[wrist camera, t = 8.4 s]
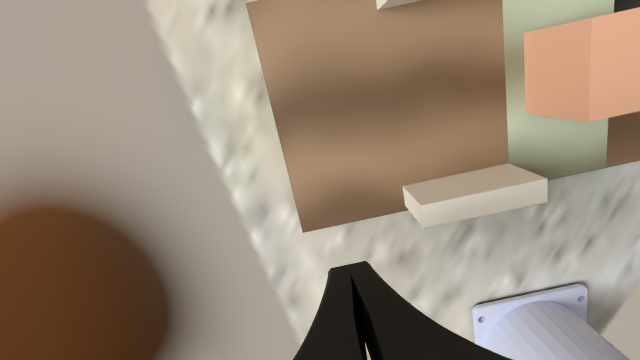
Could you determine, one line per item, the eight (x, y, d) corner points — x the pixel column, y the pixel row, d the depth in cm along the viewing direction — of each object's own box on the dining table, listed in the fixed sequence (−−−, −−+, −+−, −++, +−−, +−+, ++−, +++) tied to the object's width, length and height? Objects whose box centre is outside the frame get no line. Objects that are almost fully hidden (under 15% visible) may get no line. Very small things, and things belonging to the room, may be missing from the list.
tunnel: (509, 183, 19) (547, 202, 16) (405, 205, 19) (424, 228, 16) (500, -46, 15) (546, -76, 12) (373, -18, 15) (389, -41, 12)
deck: (672, 139, 20) (711, 145, 18) (302, 218, 21) (302, 232, 19) (697, -88, 17) (748, -110, 15) (252, 11, 17) (245, 3, 15)
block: (600, 96, 17) (684, 101, 14) (525, 113, 17) (588, 122, 14) (603, 15, 16) (696, -6, 12) (523, 32, 16) (591, 17, 12)
